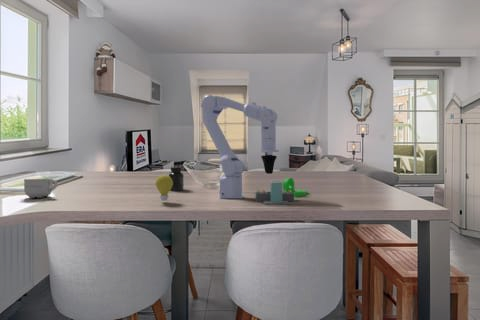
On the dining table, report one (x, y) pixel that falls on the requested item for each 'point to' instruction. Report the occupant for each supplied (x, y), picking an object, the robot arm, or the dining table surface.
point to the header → (266, 196)
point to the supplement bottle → (177, 179)
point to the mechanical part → (292, 187)
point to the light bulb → (164, 186)
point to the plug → (276, 191)
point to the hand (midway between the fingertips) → (268, 173)
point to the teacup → (39, 187)
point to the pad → (275, 203)
